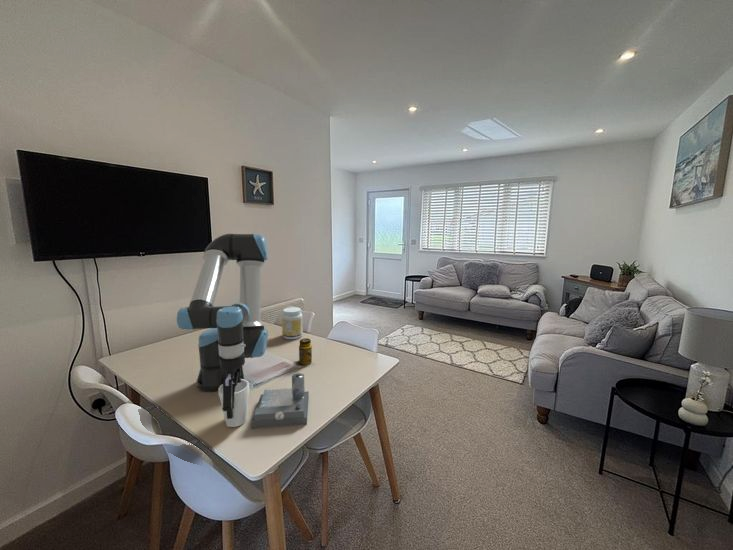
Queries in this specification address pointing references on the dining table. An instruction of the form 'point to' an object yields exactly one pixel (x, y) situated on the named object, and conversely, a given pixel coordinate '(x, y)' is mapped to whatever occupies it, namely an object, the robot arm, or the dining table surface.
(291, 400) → the scale weighing pan
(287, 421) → the scale base
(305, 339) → the condiment
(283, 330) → the supplement tub
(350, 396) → the dining table surface
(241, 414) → the foam cup
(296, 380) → the cylinder
